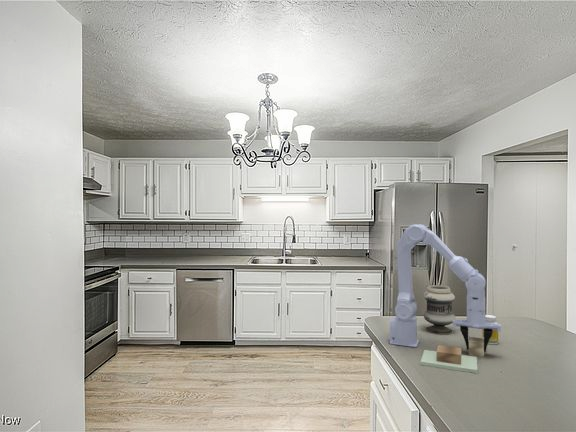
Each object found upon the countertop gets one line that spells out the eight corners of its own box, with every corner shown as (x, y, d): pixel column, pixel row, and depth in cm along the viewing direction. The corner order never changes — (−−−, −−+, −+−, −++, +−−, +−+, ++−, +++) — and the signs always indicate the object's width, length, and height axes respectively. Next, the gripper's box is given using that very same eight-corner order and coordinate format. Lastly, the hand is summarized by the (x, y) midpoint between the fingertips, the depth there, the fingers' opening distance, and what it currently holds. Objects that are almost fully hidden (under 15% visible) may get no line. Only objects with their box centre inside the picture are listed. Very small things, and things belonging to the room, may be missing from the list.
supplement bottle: (500, 345, 138) (500, 318, 138) (484, 344, 139) (484, 317, 140) (495, 340, 144) (495, 314, 144) (480, 339, 145) (480, 314, 145)
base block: (436, 361, 120) (436, 351, 120) (438, 354, 126) (438, 345, 126) (461, 364, 117) (460, 354, 117) (461, 357, 123) (461, 347, 123)
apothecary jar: (420, 332, 154) (420, 287, 155) (427, 325, 165) (427, 283, 165) (452, 337, 148) (452, 290, 148) (457, 329, 158) (457, 286, 158)
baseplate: (420, 364, 120) (420, 361, 120) (424, 352, 130) (424, 349, 130) (477, 373, 113) (477, 370, 113) (476, 359, 124) (476, 356, 124)
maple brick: (468, 355, 128) (468, 340, 128) (468, 351, 132) (468, 336, 132) (483, 357, 126) (483, 342, 126) (483, 353, 130) (483, 338, 130)
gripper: (452, 310, 129) (452, 350, 129) (501, 314, 123) (501, 356, 122) (452, 305, 135) (453, 344, 135) (499, 309, 129) (499, 350, 129)
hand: (476, 349), depth 129 cm, fingers closed on maple brick, 4 cm apart
